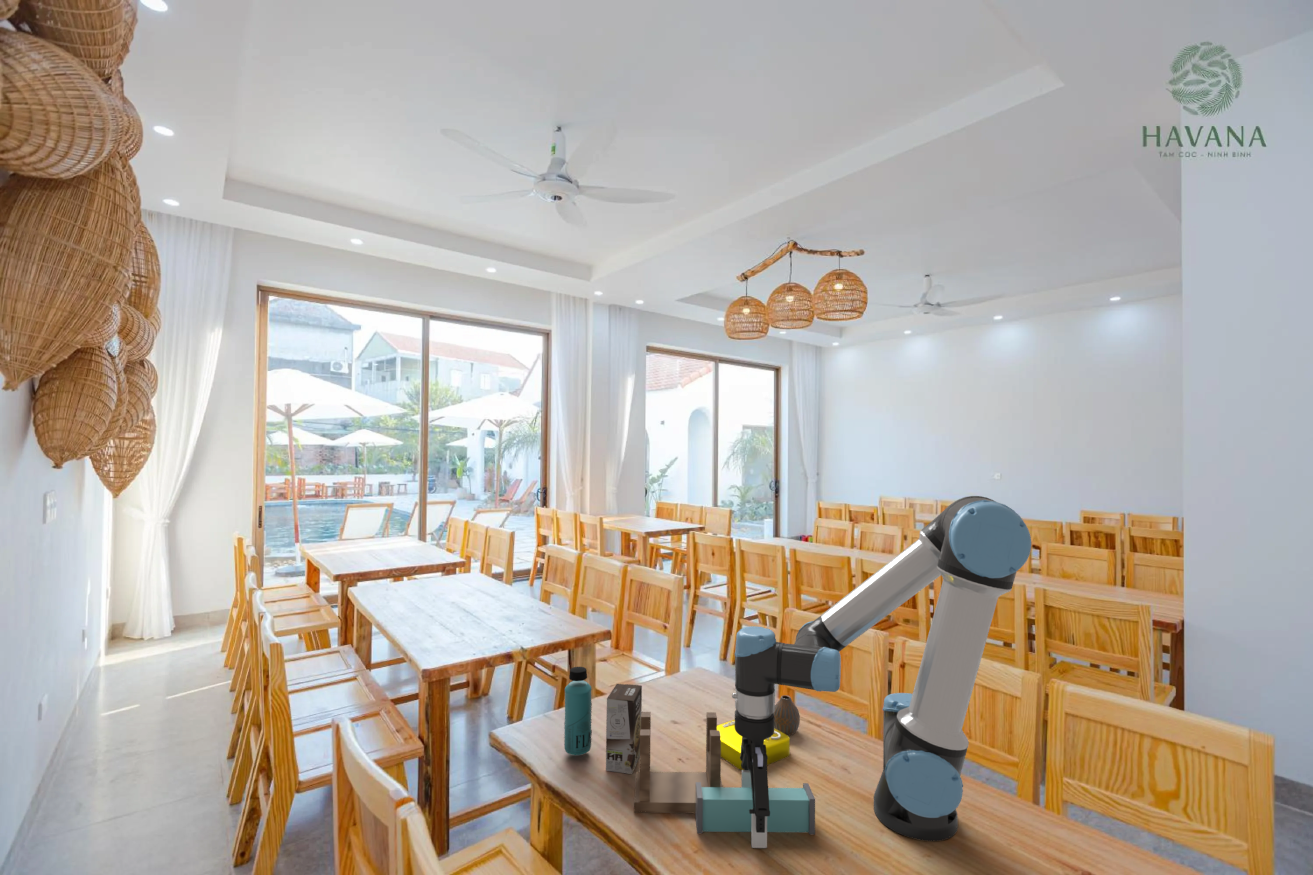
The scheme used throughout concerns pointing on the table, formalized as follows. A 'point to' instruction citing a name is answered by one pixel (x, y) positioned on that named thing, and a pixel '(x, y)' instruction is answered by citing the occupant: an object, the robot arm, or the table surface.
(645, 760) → the rack
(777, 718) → the vase
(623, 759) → the coffee box
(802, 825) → the teal bar
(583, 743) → the beverage bottle
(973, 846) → the table surface
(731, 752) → the element tile
